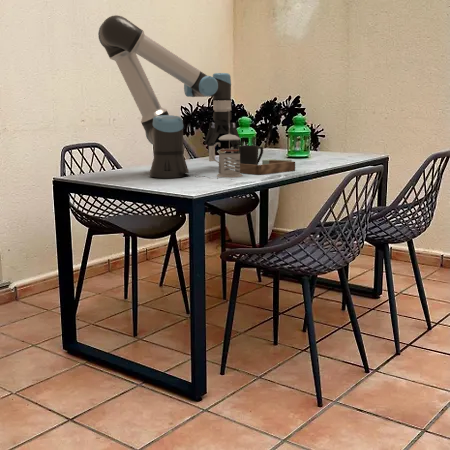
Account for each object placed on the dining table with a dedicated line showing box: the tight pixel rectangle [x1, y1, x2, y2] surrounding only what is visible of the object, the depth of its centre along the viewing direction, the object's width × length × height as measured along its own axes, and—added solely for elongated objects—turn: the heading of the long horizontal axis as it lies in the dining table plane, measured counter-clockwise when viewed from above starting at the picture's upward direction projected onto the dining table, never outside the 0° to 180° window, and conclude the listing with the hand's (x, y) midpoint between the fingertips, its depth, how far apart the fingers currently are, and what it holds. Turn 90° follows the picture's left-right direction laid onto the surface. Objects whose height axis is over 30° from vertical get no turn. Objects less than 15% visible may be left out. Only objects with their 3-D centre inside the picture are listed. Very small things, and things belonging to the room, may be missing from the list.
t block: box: [261, 158, 293, 165], centre depth 269 cm, size 8×11×3 cm
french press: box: [211, 107, 244, 178], centre depth 235 cm, size 10×12×25 cm
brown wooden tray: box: [234, 159, 296, 176], centre depth 250 cm, size 21×13×4 cm, turn 134°
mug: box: [238, 145, 264, 165], centre depth 259 cm, size 8×12×10 cm
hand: (222, 162), depth 270 cm, fingers open, 13 cm apart
